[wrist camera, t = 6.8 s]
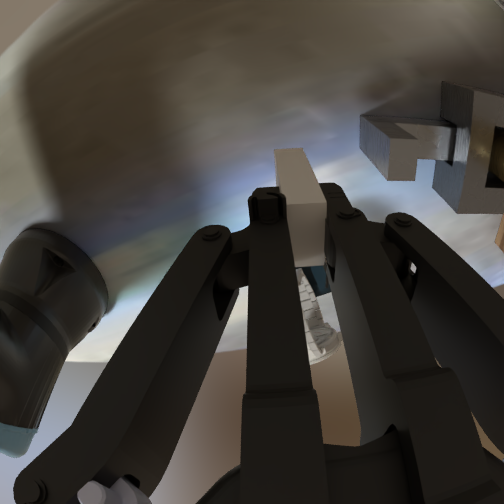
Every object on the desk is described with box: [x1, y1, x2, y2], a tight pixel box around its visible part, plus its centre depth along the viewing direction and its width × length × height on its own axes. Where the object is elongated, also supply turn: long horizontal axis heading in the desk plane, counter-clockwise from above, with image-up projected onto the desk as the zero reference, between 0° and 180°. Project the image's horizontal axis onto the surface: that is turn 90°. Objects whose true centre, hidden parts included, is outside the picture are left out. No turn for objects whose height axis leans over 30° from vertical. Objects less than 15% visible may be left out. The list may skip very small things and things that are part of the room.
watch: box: [295, 263, 343, 365], centre depth 27 cm, size 6×8×11 cm
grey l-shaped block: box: [360, 115, 458, 181], centre depth 20 cm, size 10×3×7 cm, turn 95°
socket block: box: [432, 81, 504, 214], centre depth 20 cm, size 10×10×5 cm
